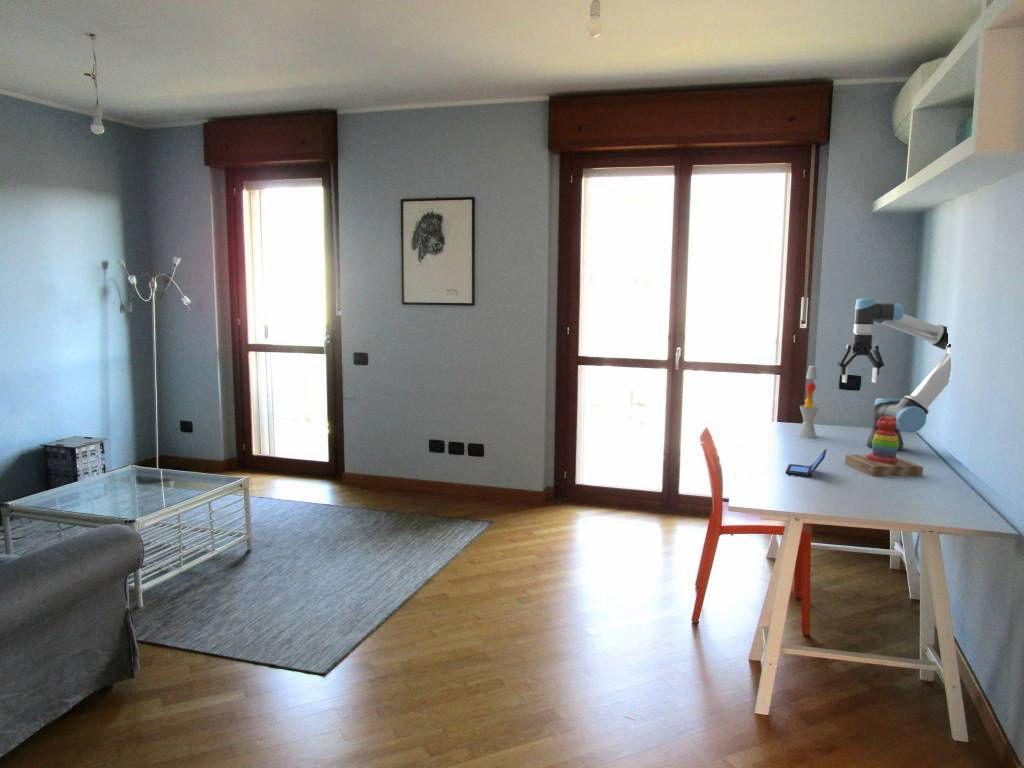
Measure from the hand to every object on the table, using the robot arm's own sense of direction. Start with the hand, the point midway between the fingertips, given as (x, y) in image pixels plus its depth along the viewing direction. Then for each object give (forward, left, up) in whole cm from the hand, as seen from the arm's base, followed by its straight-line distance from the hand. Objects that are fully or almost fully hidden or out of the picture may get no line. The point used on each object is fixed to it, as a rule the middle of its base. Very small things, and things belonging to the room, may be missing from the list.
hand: (859, 382), depth 311 cm
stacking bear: (+5, +31, -28) cm, 42 cm away
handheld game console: (+39, +37, -32) cm, 63 cm away
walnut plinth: (+5, +31, -32) cm, 45 cm away
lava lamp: (+3, -38, -32) cm, 49 cm away
